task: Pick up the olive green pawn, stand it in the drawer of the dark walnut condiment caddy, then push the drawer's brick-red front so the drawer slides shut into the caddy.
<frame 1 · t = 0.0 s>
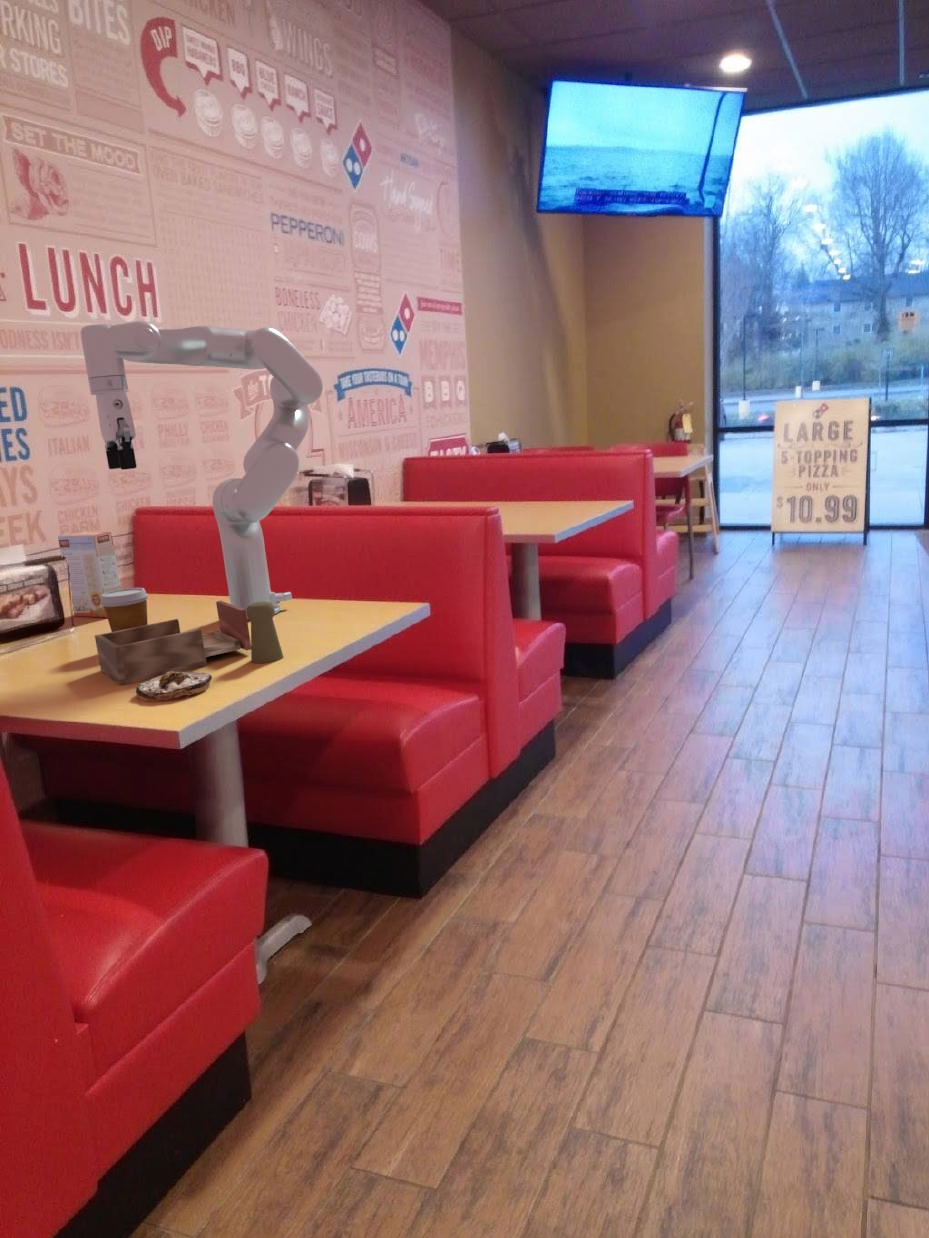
hand: (122, 468, 208), 37 cm above the table, tool pointing down, fingers open, 9 cm apart
disposable coffee cup: (133, 648, 206), on the table
drawer: (197, 632, 191), point 5 cm above the table, slide at 8.0 cm
olive green pawn: (267, 659, 186), on the table
caddy: (153, 668, 187), on the table
cracker box: (99, 615, 247), on the table
pie: (175, 695, 170), on the table
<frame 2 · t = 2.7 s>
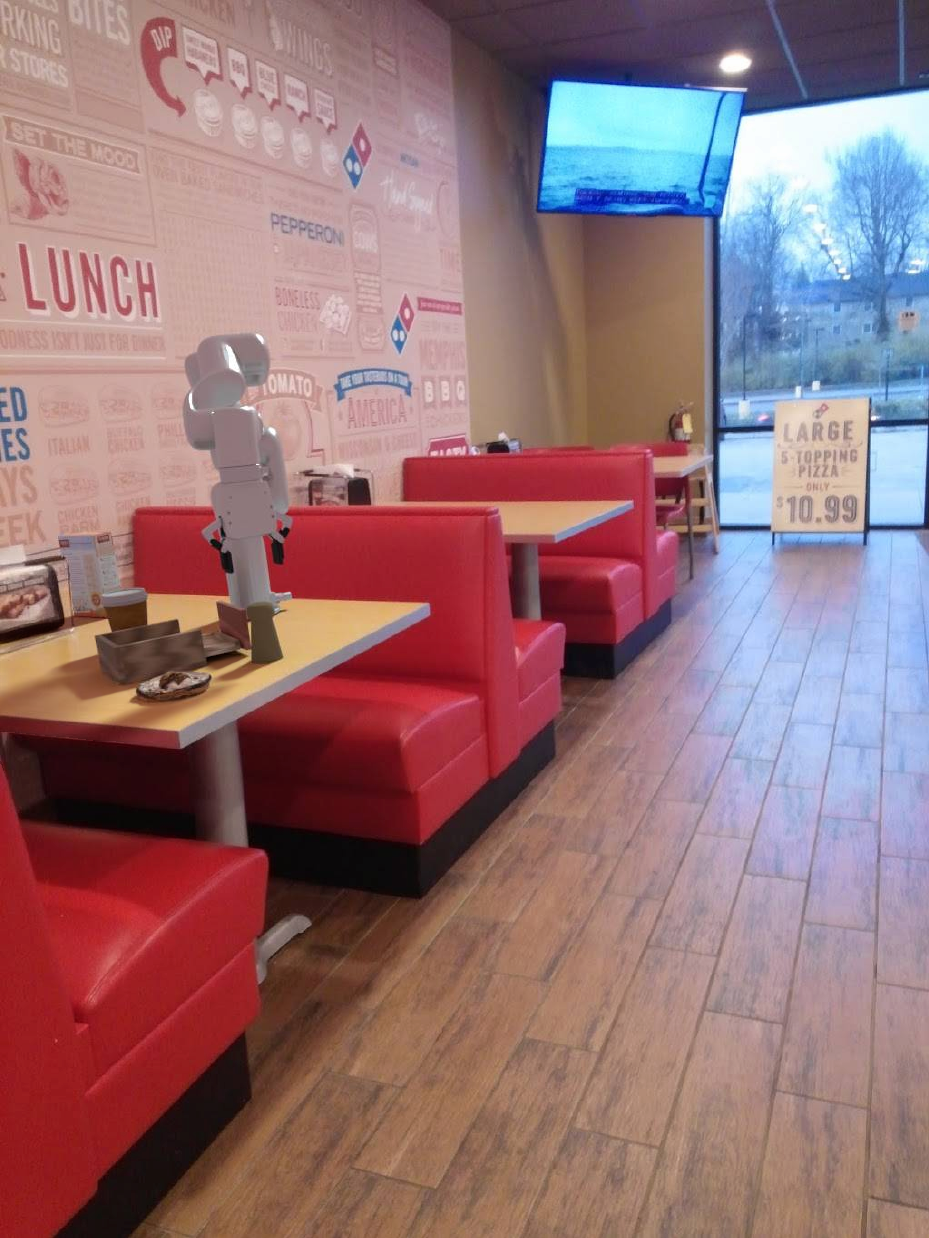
hand: (254, 568, 182), 17 cm above the table, tool pointing down, fingers open, 9 cm apart
nothing on the table moved.
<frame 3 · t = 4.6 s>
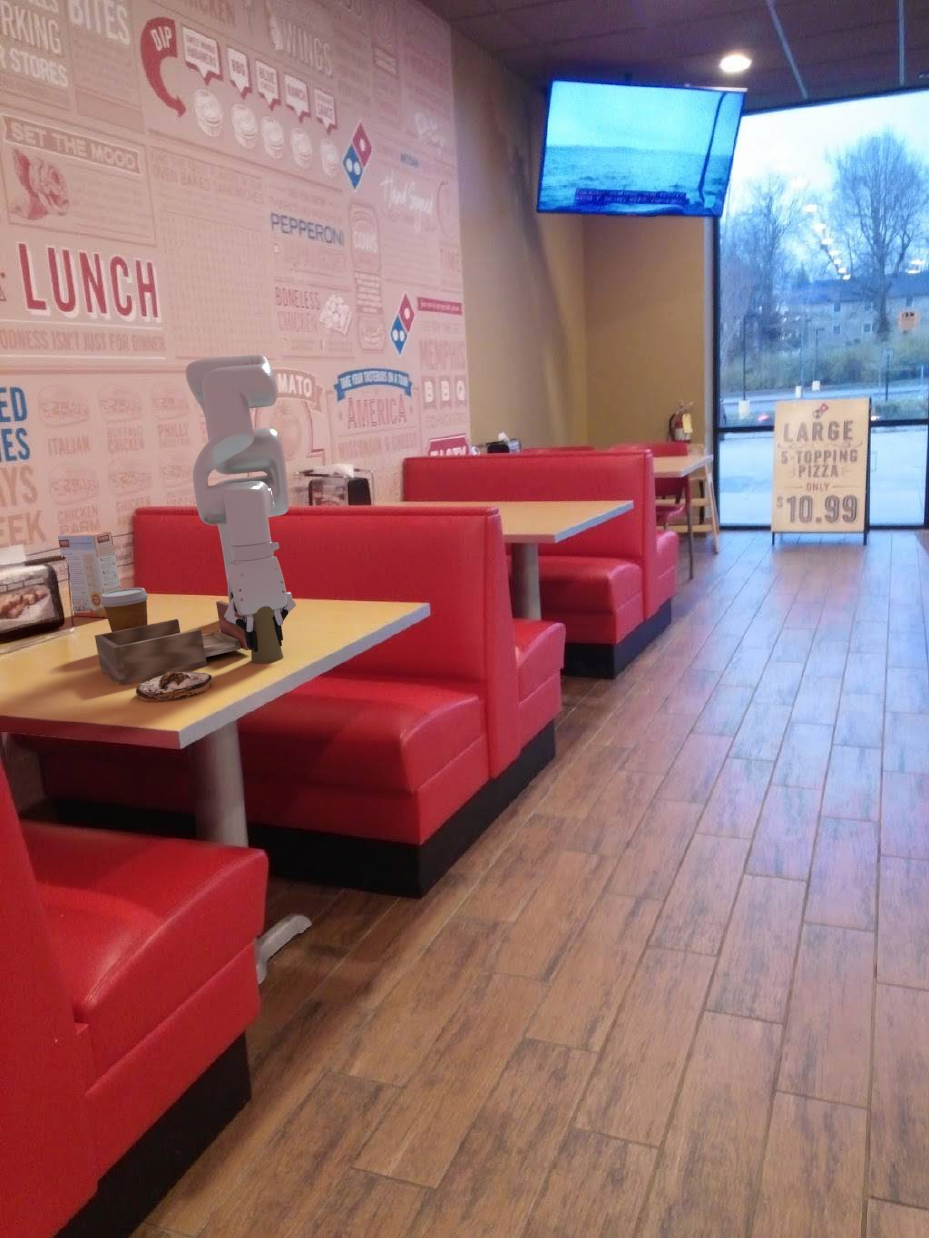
hand: (265, 647, 185), 2 cm above the table, tool pointing down, fingers closed on olive green pawn, 4 cm apart
olive green pawn: (267, 659, 186), on the table, touching gripper
everything else where it was.
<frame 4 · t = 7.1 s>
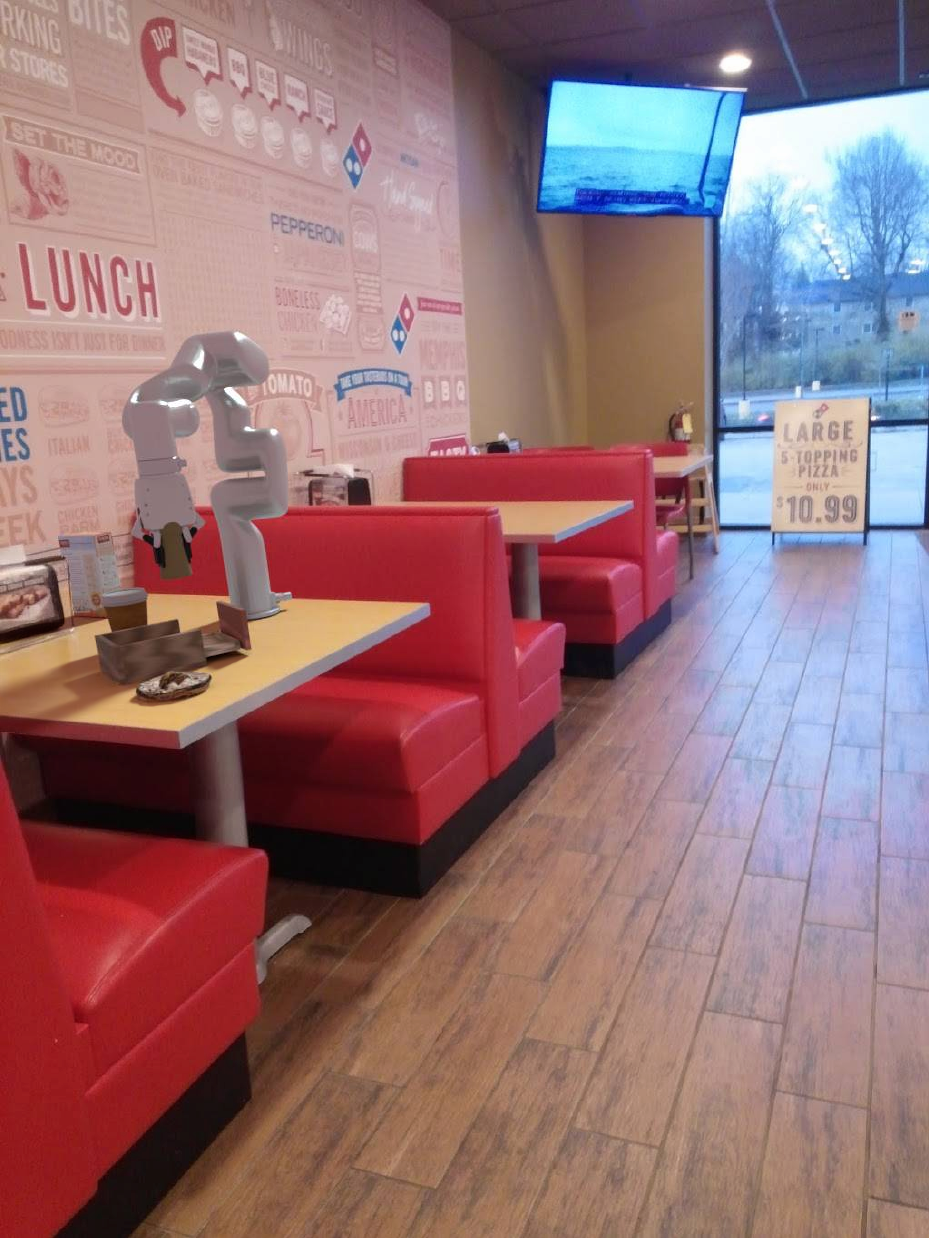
hand: (174, 564, 187), 19 cm above the table, tool pointing down, fingers closed on olive green pawn, 4 cm apart
olive green pawn: (177, 577, 187), point 16 cm above the table, touching gripper
everything else where it was.
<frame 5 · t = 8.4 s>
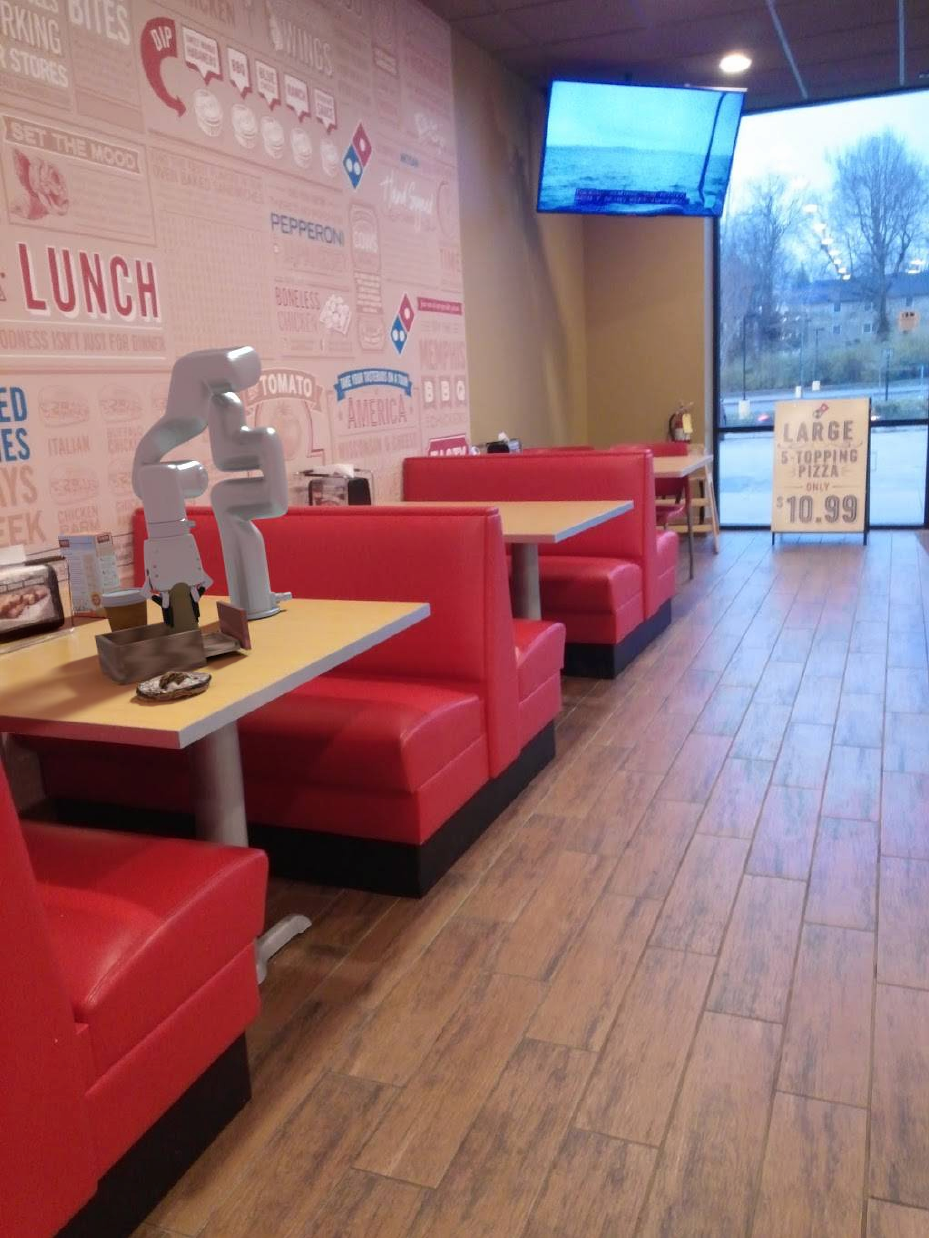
hand: (182, 623, 189), 7 cm above the table, tool pointing down, fingers closed on olive green pawn, 4 cm apart
olive green pawn: (184, 636, 189), point 5 cm above the table, touching gripper
everything else where it was.
when the fingers open (6 cm above the table, at t = 8.9 s): olive green pawn drops 1 cm, resting on drawer.
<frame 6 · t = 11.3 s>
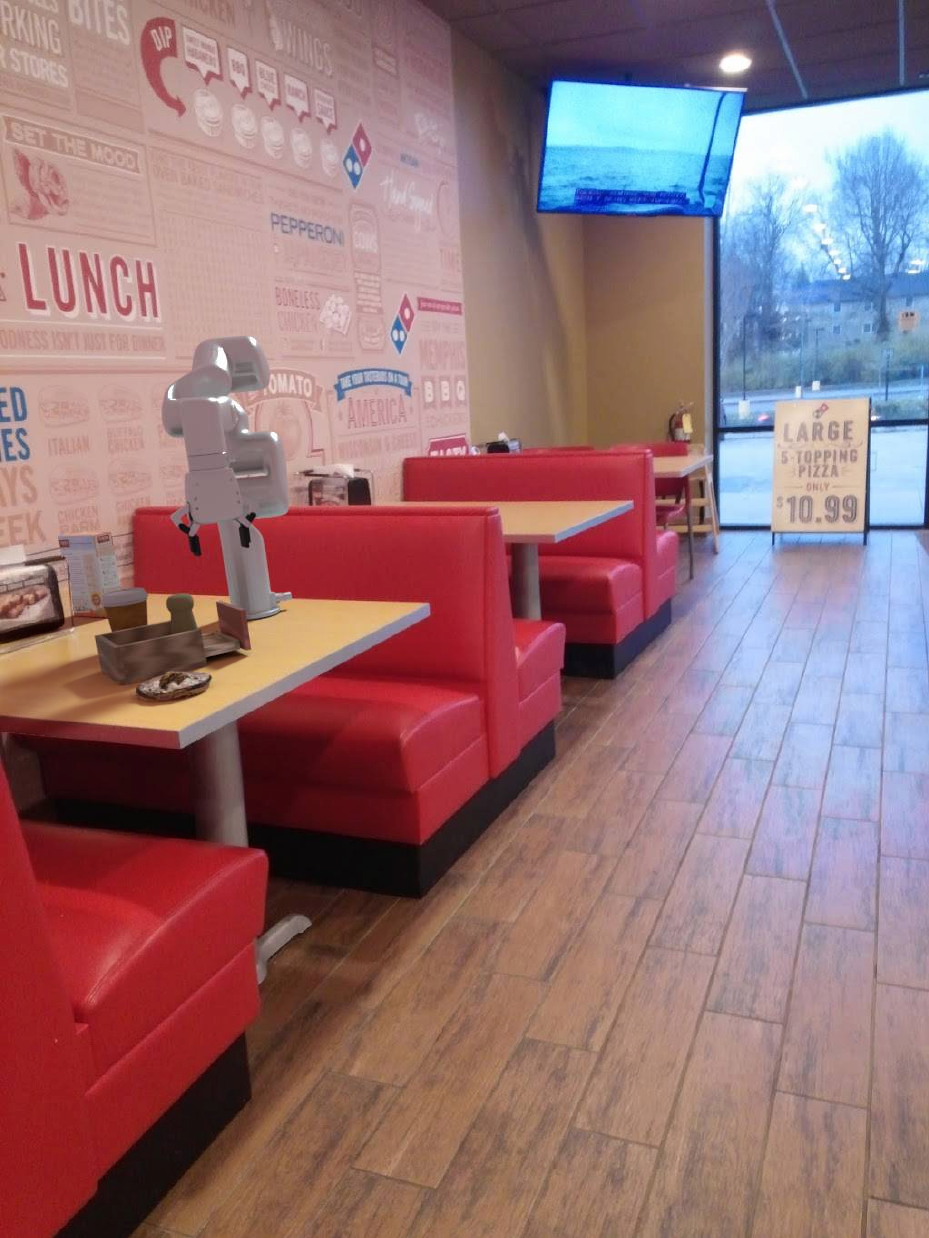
hand: (221, 551, 192), 20 cm above the table, tool pointing down, fingers open, 9 cm apart
drawer: (197, 632, 191), point 5 cm above the table, slide at 7.9 cm, touching olive green pawn
olive green pawn: (187, 650, 191), point 2 cm above the table, touching drawer
everything else where it was.
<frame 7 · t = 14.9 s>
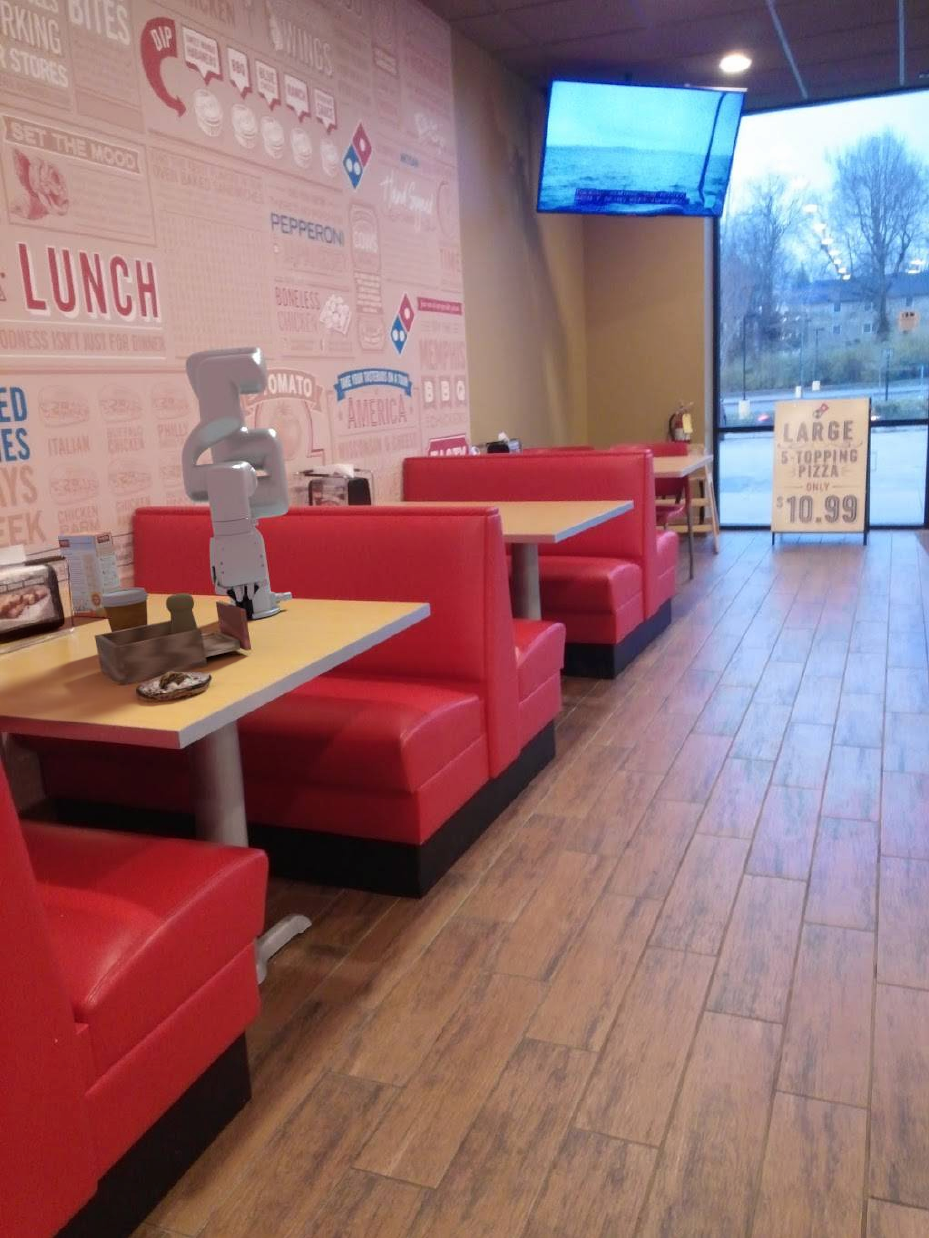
hand: (246, 619, 196), 6 cm above the table, tool pointing down, fingers closed
drawer: (197, 632, 191), point 5 cm above the table, slide at 7.9 cm, touching gripper, olive green pawn
everything else where it was.
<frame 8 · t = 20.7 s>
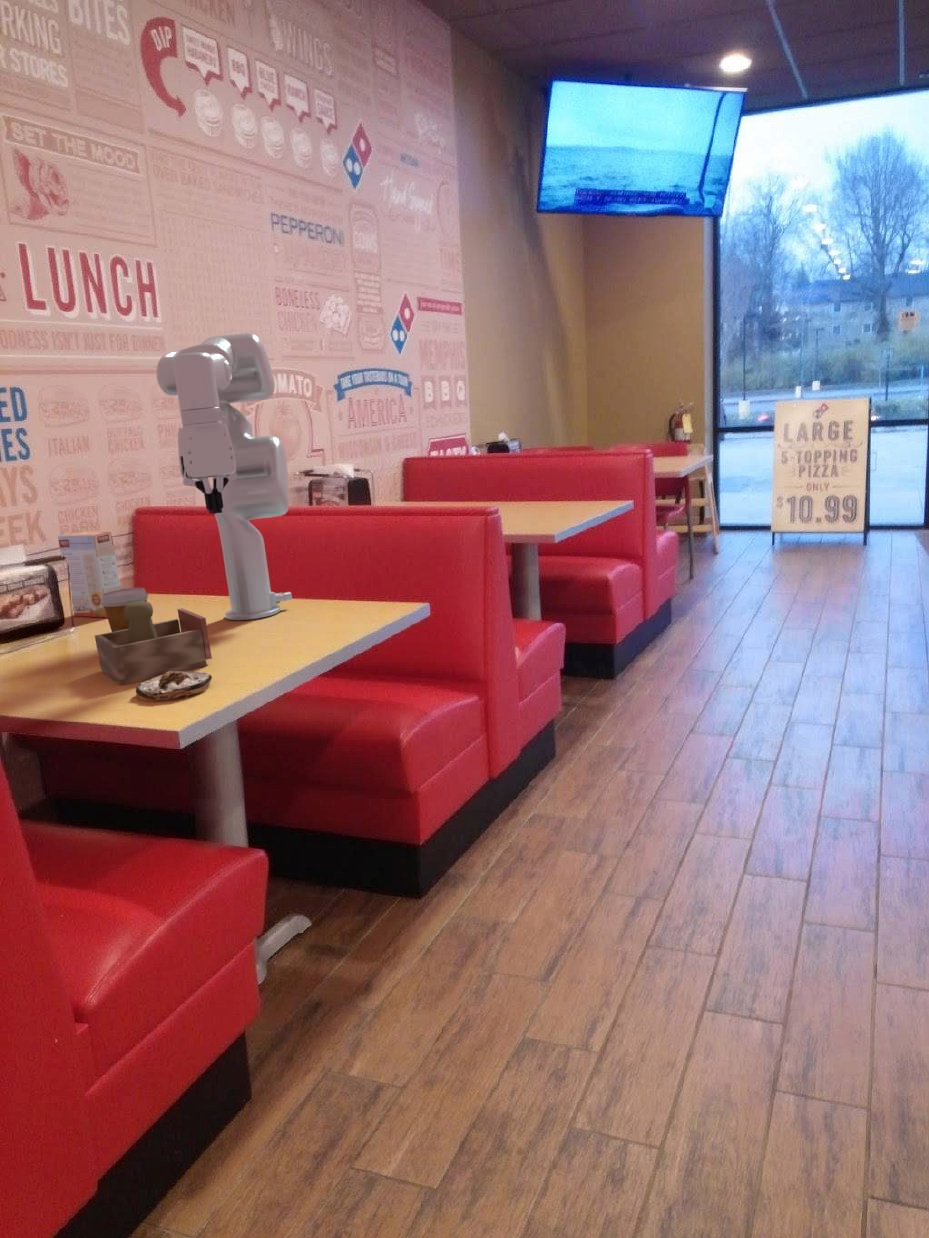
hand: (215, 512, 194), 27 cm above the table, tool pointing down, fingers closed
drawer: (156, 641, 187), point 5 cm above the table, slide at 0.0 cm, touching olive green pawn
olive green pawn: (146, 659, 186), point 2 cm above the table, touching drawer
everything else where it was.
at the end: drawer slide at 0.0 cm; olive green pawn inside the target area on the caddy (0.2 cm from its centre), point 1.9 cm above the caddy's base; olive green pawn tilted 0° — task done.
